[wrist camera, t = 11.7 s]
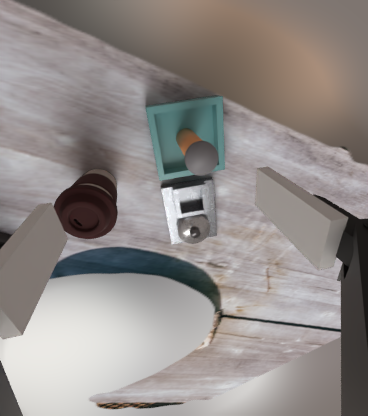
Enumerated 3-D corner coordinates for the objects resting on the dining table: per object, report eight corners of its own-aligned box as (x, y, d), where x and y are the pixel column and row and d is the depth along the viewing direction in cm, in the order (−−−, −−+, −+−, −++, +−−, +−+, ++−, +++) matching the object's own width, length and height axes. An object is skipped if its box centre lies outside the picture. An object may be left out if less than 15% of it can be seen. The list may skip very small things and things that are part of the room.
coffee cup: (120, 161, 47) (111, 190, 34) (125, 202, 52) (119, 242, 39) (70, 162, 46) (41, 193, 33) (80, 205, 50) (58, 247, 37)
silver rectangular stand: (171, 240, 59) (173, 253, 55) (160, 183, 51) (161, 193, 46) (215, 232, 60) (220, 244, 56) (211, 174, 52) (217, 183, 47)
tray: (158, 174, 50) (159, 180, 46) (145, 105, 43) (145, 107, 39) (219, 163, 51) (224, 169, 47) (216, 95, 44) (222, 96, 40)
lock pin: (175, 152, 47) (187, 178, 34) (171, 127, 44) (183, 145, 31) (198, 148, 47) (219, 172, 34) (196, 123, 45) (217, 139, 32)
